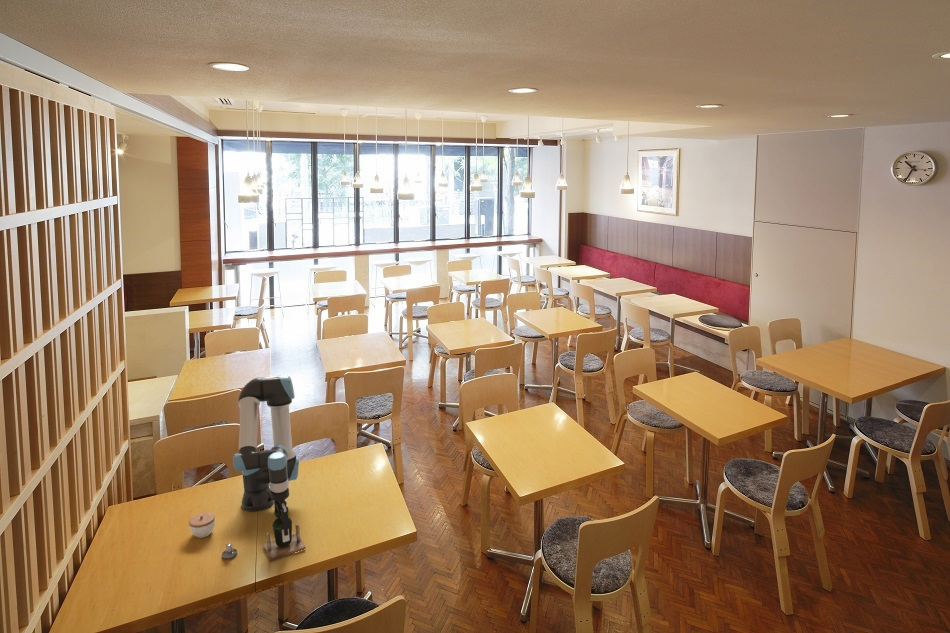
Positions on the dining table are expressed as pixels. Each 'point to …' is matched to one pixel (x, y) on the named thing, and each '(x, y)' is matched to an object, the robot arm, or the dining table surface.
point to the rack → (280, 552)
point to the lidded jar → (202, 524)
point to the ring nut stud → (229, 552)
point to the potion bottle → (278, 532)
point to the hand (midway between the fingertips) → (283, 535)
